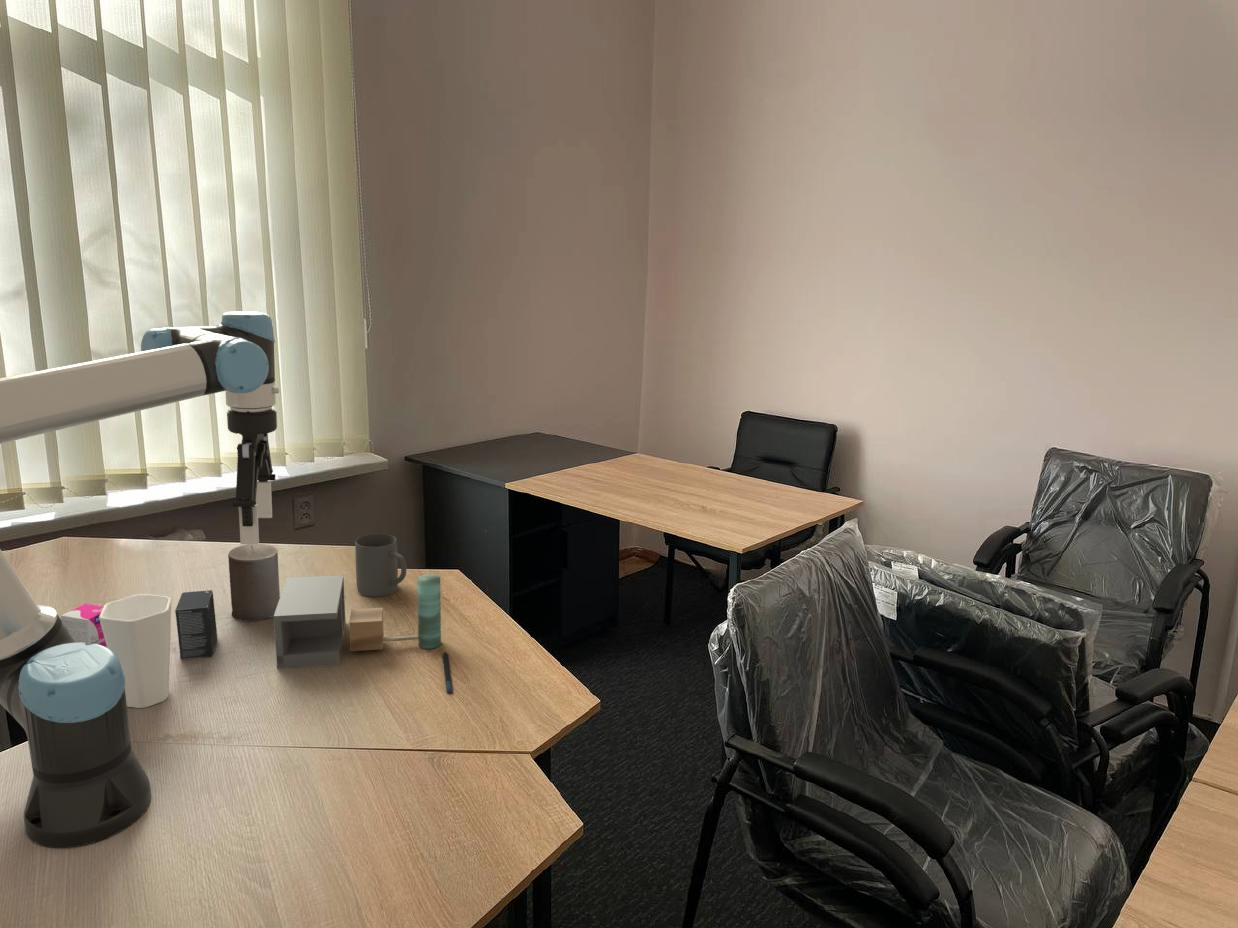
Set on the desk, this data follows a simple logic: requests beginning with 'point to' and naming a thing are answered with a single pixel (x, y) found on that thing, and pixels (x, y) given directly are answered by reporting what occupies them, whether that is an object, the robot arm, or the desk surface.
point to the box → (196, 624)
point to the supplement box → (85, 624)
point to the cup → (140, 645)
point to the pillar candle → (254, 581)
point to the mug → (378, 565)
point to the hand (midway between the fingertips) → (257, 530)
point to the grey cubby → (310, 622)
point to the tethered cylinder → (370, 636)
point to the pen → (447, 673)
